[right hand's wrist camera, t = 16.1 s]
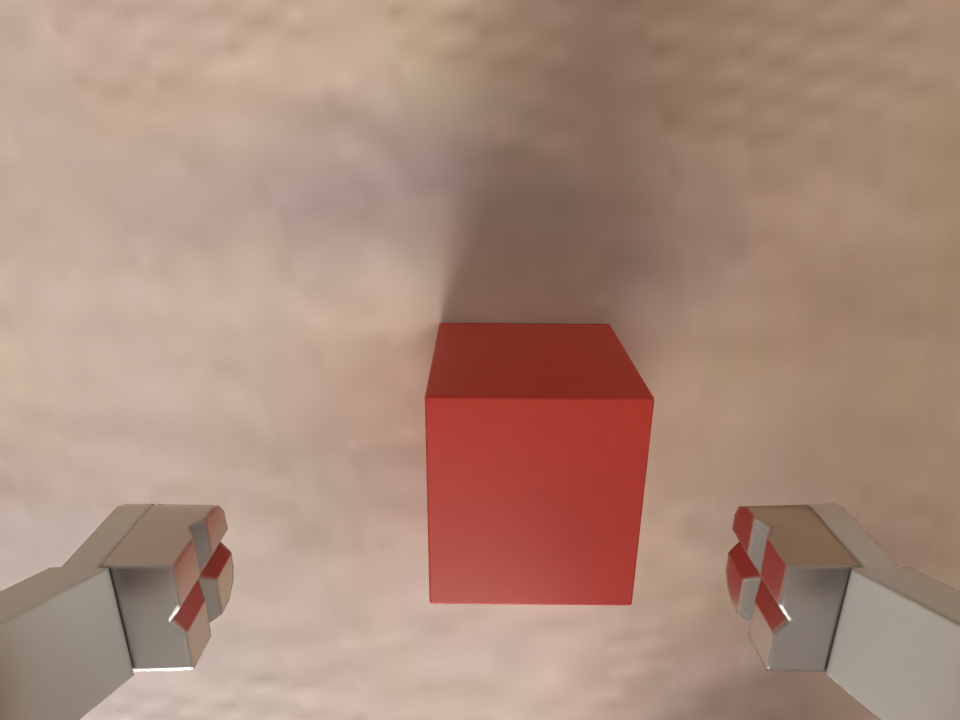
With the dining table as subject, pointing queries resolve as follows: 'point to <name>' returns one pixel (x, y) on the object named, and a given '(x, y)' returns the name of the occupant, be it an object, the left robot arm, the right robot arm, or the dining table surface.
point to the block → (534, 464)
